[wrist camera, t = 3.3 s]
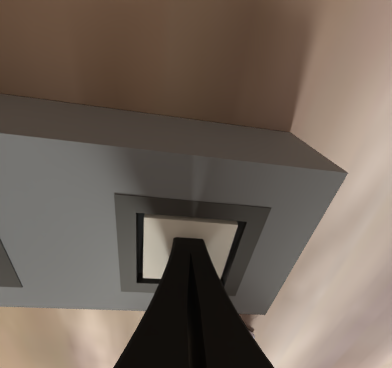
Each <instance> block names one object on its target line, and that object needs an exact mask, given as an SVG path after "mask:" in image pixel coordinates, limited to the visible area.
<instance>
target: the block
mask: <svg viewBox="0 0 392 368" xmlns="http://www.w3.org/2000/svg"><path fill="white" fill-rule="evenodd" d="M347 174H348V173H347V172H346V171H344V170H343V169H342V168H340V167H339V166H337V165H336V164H334V163H333V162H332V161H330V160H329V159H327V158H326V157H325V156H323V155H322V154H320V153H319V152H317V151H316V150H315V149H313V148H312V147H310V146H309V145H307V144H306V143H305V142H303V141H302V140H300V139H299V138H297V137H296V136H295V135H293V134H292V133H290V132H283V131H275V130H268V129H260V128H253V127H246V126H238V125H231V124H223V123H216V122H208V121H201V120H193V119H186V118H178V117H171V116H163V115H156V114H148V113H141V112H134V111H126V110H119V109H111V108H104V107H96V106H89V105H81V104H74V103H66V102H59V101H51V100H44V99H36V98H29V97H22V96H14V95H7V94H0V306H2V307H34V308H66V309H99V310H131V311H146V310H147V308H148V306H149V304H150V302H151V300H152V298H153V295H154V293H155V291H156V289H157V287H158V285H159V282H160V280H161V279H154V278H143V242H144V215H145V214H158V215H170V216H182V217H194V218H207V219H219V220H231V221H237V223H238V227H237V230H236V233H235V236H234V239H233V242H232V245H231V248H230V251H229V255H228V258H227V261H226V264H225V267H224V270H223V273H222V276H221V279H220V280H221V282H222V284H223V287H224V288H225V290H226V292H227V294H228V296H229V298H230V300H231V302H232V303H233V305H234V307H235V309H236V310H237V312H238V314H260V315H265V314H266V313H267V311H268V309H269V308H270V306H271V304H272V302H273V301H274V299H275V297H276V296H277V294H278V292H279V290H280V289H281V287H282V285H283V284H284V282H285V280H286V278H287V277H288V275H289V273H290V272H291V270H292V268H293V266H294V265H295V263H296V261H297V260H298V258H299V256H300V254H301V253H302V251H303V249H304V248H305V246H306V244H307V242H308V241H309V239H310V237H311V236H312V234H313V232H314V230H315V229H316V227H317V225H318V224H319V222H320V220H321V219H322V217H323V215H324V213H325V212H326V210H327V208H328V207H329V205H330V203H331V201H332V200H333V198H334V196H335V195H336V193H337V191H338V189H339V188H340V186H341V184H342V183H343V181H344V179H345V177H346V176H347Z"/></svg>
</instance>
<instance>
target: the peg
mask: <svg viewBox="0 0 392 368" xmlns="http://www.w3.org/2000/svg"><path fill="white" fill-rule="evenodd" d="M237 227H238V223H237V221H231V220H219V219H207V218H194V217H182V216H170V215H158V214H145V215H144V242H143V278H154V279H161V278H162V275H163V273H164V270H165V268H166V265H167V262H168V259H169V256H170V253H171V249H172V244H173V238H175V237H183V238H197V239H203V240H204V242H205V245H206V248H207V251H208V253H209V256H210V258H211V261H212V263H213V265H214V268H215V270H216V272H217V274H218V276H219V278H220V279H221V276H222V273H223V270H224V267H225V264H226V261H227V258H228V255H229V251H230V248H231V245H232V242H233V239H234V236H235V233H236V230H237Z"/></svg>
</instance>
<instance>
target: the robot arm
mask: <svg viewBox="0 0 392 368" xmlns="http://www.w3.org/2000/svg"><path fill="white" fill-rule="evenodd" d="M254 338H255V336H254V334H253V333H252V332H250V331H249V330H248V329H247V327H246V325H245V324H244V322H243V321H242V319H241V317H240V316H239V314H238V312H237V310H236V309H235V307H234V305H233V303H232V302H231V300H230V298H229V296H228V294H227V292H226V290H225V288H224V287H223V284H222V282H221V280H220V278H219V276H218V274H217V272H216V270H215V268H214V265H213V263H212V261H211V258H210V256H209V253H208V251H207V248H206V245H205V242H204V240H203V239H197V238H183V237H175V238H173V244H172V249H171V253H170V256H169V259H168V262H167V265H166V268H165V270H164V273H163V275H162V278H161V280H160V282H159V285H158V287H157V289H156V291H155V293H154V295H153V298H152V300H151V302H150V304H149V306H148V308H147V310H146V312H145V314H144V316H143V317H142V319H141V321H140V323H139V325H138V327H137V329H136V330H135V332H134V334H133V336H132V337H131V339H130V341H129V342H128V344H127V346H126V348H125V349H124V351H123V353H122V354H121V356H120V358H119V359H118V361H117V363H116V364H115V366H114V367H113V368H274V367H273V365H272V364H271V362H270V361H269V360H268V358H267V357H266V356H265V354H264V353H263V351H262V350H261V348H260V347H259V345H258V344H257V342H256V341H255V339H254Z"/></svg>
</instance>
